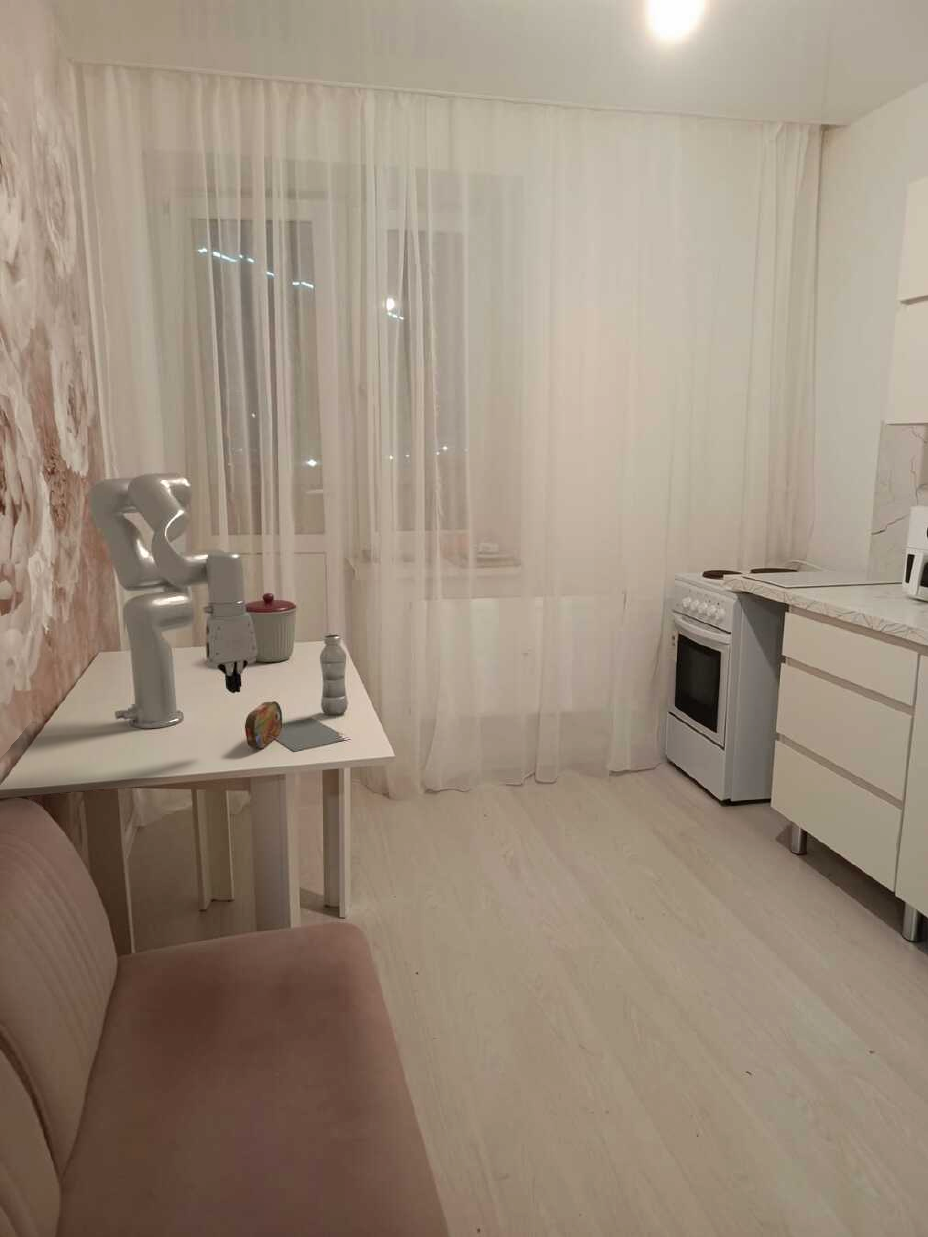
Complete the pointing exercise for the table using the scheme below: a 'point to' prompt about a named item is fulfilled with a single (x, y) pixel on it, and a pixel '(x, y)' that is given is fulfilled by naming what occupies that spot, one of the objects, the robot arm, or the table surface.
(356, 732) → the table surface
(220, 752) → the table surface
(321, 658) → the plastic bottle
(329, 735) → the mat
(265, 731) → the tin
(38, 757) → the table surface
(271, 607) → the canister
